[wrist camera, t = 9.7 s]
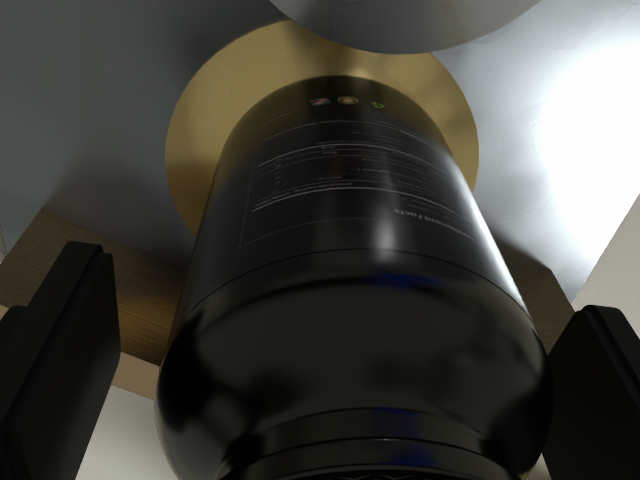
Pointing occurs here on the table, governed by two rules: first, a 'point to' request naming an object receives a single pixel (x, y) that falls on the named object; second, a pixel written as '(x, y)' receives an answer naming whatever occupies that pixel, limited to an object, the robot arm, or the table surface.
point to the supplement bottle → (348, 307)
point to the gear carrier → (285, 68)
